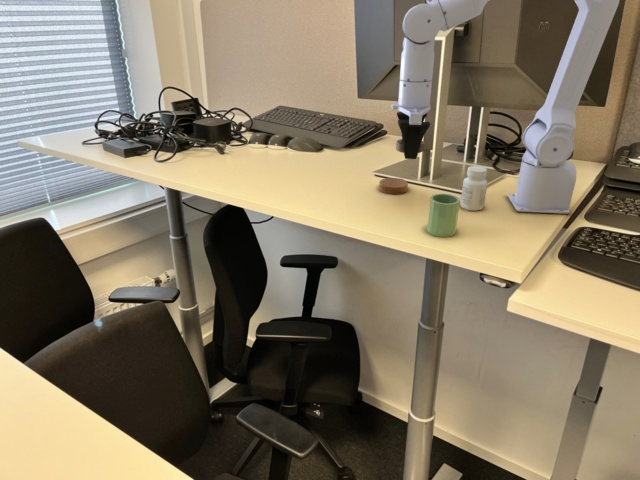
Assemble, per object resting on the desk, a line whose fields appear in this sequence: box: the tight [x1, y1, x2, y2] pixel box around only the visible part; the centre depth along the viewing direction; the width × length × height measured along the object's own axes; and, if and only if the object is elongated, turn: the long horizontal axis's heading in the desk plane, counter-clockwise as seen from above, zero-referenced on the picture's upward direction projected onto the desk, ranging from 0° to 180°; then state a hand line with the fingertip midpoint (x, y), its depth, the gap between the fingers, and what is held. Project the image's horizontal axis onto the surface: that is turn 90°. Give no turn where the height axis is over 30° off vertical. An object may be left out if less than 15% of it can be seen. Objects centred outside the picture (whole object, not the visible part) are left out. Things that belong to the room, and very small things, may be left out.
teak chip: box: [378, 177, 409, 195], centre depth 99 cm, size 6×6×2 cm
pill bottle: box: [459, 165, 488, 212], centre depth 89 cm, size 4×4×8 cm
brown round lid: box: [395, 138, 425, 154], centre depth 89 cm, size 5×5×2 cm
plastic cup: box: [426, 193, 461, 238], centre depth 80 cm, size 5×5×6 cm
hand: (409, 153), depth 89 cm, fingers closed on brown round lid, 5 cm apart
